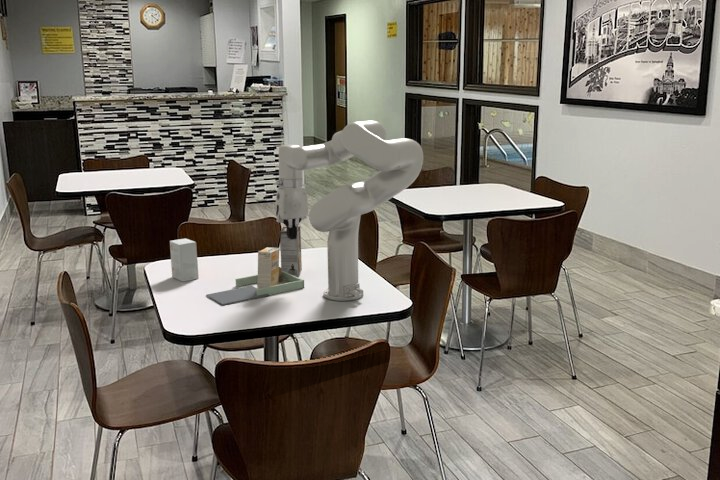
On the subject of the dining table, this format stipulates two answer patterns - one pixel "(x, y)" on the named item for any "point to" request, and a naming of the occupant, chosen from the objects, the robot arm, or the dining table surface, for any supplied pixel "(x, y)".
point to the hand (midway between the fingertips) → (291, 238)
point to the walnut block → (280, 275)
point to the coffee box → (290, 253)
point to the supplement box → (268, 267)
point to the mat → (235, 295)
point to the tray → (294, 284)
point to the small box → (184, 259)
